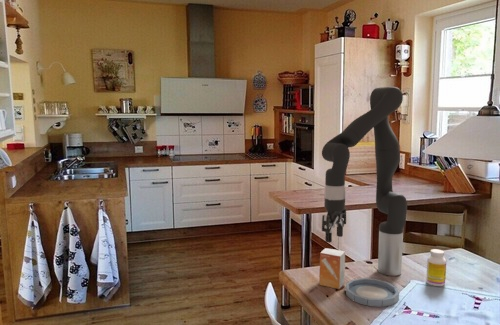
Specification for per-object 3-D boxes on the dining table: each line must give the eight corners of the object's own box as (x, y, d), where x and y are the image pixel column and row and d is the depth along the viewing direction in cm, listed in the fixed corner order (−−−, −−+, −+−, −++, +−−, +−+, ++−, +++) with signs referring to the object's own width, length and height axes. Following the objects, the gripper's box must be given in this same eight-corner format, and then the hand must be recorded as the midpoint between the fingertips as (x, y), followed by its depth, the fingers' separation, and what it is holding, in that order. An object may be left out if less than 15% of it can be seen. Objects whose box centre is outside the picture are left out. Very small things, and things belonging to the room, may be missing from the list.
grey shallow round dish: (359, 280, 160) (359, 274, 159) (405, 293, 148) (405, 286, 148) (337, 296, 146) (337, 290, 146) (386, 312, 135) (386, 305, 134)
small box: (318, 285, 156) (319, 252, 154) (324, 279, 161) (325, 247, 159) (339, 289, 152) (340, 256, 150) (344, 283, 157) (345, 250, 155)
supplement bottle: (447, 287, 153) (449, 254, 151) (428, 286, 154) (430, 253, 153) (442, 280, 159) (444, 248, 158) (424, 279, 161) (426, 247, 159)
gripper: (335, 192, 158) (334, 232, 161) (315, 198, 148) (315, 242, 150) (352, 194, 154) (352, 236, 156) (334, 201, 143) (333, 246, 145)
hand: (334, 239), depth 153 cm, fingers open, 8 cm apart
